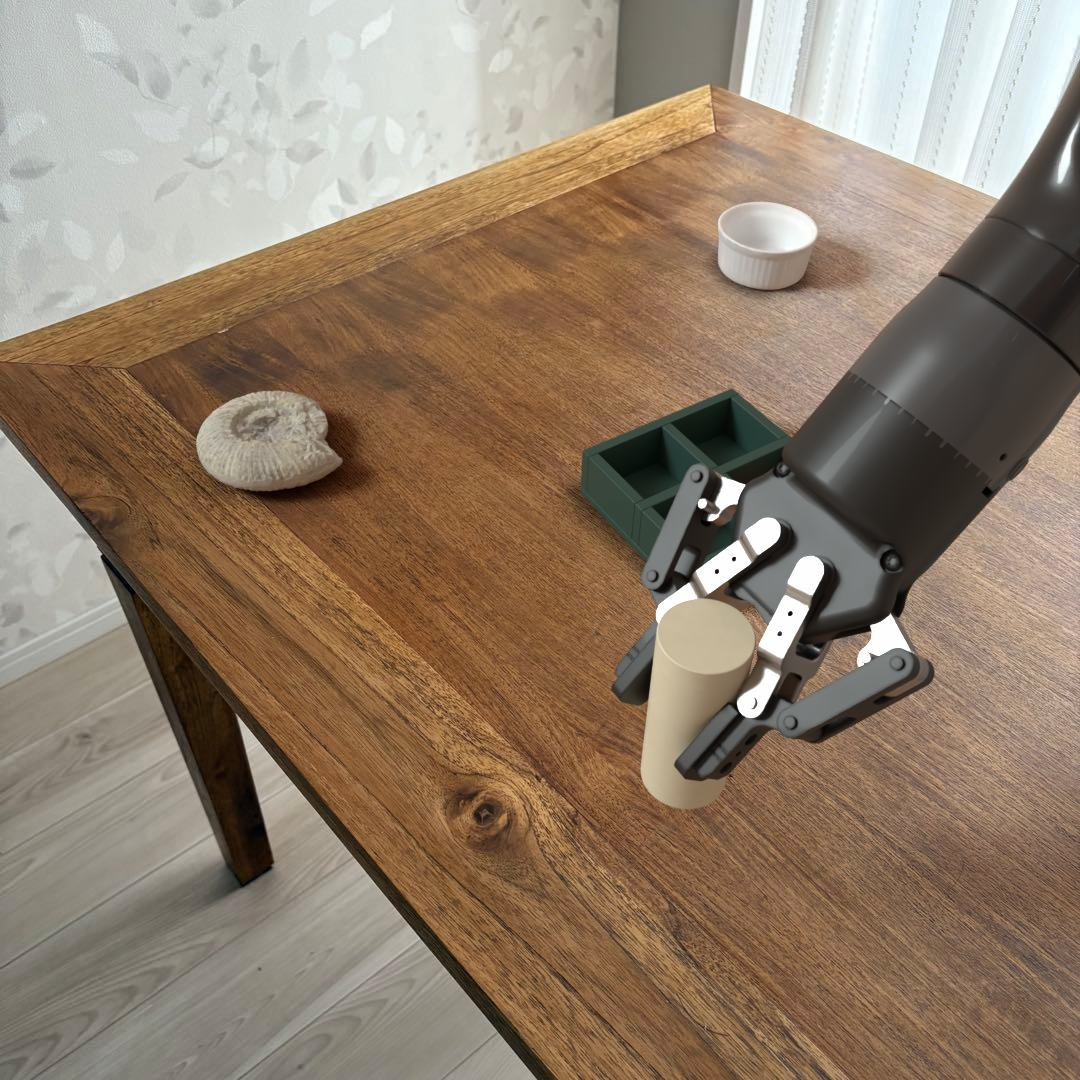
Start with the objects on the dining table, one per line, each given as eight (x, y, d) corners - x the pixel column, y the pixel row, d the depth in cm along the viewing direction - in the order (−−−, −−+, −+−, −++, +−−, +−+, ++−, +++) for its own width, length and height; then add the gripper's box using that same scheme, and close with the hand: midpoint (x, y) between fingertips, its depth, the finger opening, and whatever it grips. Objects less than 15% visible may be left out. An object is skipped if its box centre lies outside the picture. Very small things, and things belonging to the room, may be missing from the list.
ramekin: (762, 233, 106) (769, 191, 103) (830, 274, 101) (840, 232, 98) (692, 261, 102) (697, 219, 99) (759, 306, 97) (766, 262, 94)
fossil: (365, 420, 80) (252, 499, 75) (374, 456, 82) (266, 534, 78) (272, 352, 85) (162, 423, 81) (284, 388, 88) (178, 458, 84)
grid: (846, 535, 77) (858, 492, 75) (693, 612, 72) (700, 570, 70) (725, 430, 85) (732, 387, 82) (580, 493, 80) (582, 450, 77)
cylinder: (743, 784, 51) (777, 646, 44) (674, 824, 50) (697, 689, 43) (691, 723, 54) (714, 584, 47) (623, 760, 52) (637, 622, 45)
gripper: (769, 300, 45) (517, 614, 49) (1049, 503, 37) (718, 863, 41) (840, 365, 51) (609, 641, 55) (1097, 554, 43) (802, 864, 47)
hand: (657, 734), depth 48 cm, fingers closed on cylinder, 4 cm apart
